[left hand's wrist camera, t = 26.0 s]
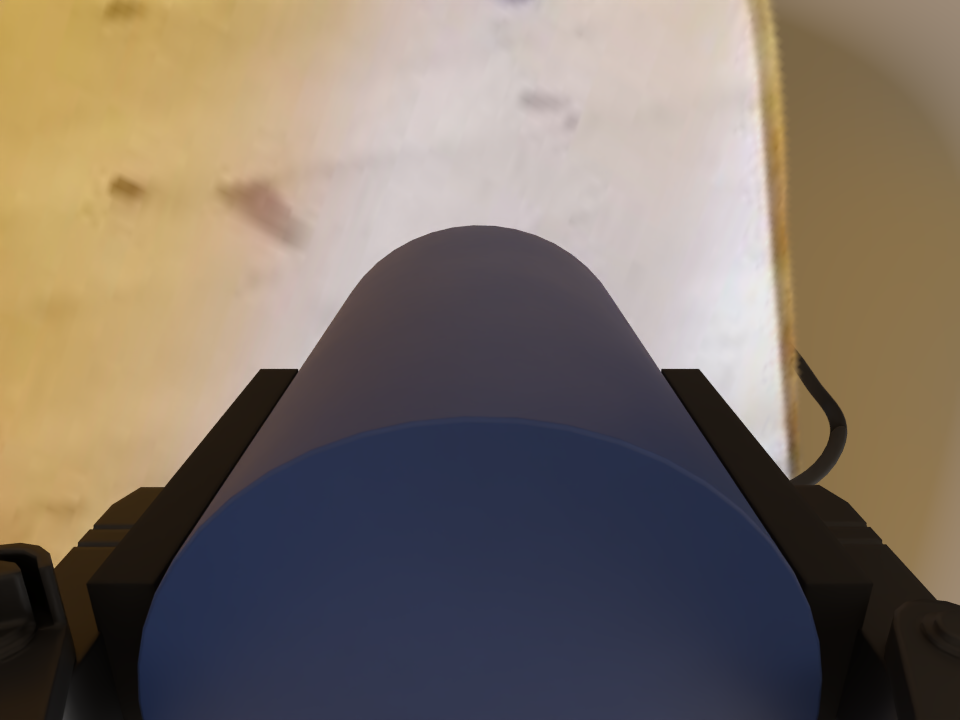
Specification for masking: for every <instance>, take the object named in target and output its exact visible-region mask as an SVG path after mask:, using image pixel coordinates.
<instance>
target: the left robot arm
mask: <svg viewBox="0 0 960 720" xmlns="http://www.w3.org/2000/svg"><path fill="white" fill-rule="evenodd" d="M795 353H796V373H797V375H798V376H799V378H800V379H801V381H802V382H803V384H804V385H805V387H806V388H807V390H808V391H809V393H810V394H811V395H812V396H813V398H814V399H815V400H816V401H817V403H818V404H819V405H820V407H821V408H822V409H823V411H824V412H825V414H826V416H827V418H828V421H829V425H830V436H829V441H828V443H827V446H826V448H825V449H824V451H823V453H822V455H821V456H820V457H819V458H818V459H817V461H816V462H815V463H814V464H813V465H812V466H811V467H809V468H808V469H807V470H806V471H804V472H803V473H802V474H800V475H799V476H797V477H795V478H794V479H792V480H789V479H788V478H787V477H786V476H785V474H784V473H783V472H782V471H781V469H780V468H779V467H778V466H777V464H776V463H775V462H774V461H773V460H772V458H771V457H770V456H769V455H768V453H767V452H766V451H765V450H764V448H763V447H762V446H761V445H760V444H759V442H758V441H757V440H756V439H755V437H754V436H753V435H752V434H751V432H750V431H749V430H748V429H747V428H746V426H745V425H744V424H743V423H742V421H741V420H740V419H739V418H738V416H737V415H736V414H735V413H734V412H733V410H732V409H731V408H730V407H729V405H728V404H727V403H726V402H725V400H724V399H723V398H722V397H721V396H720V394H719V393H718V392H717V391H716V389H715V388H714V387H713V386H712V385H711V383H710V382H709V381H708V380H707V378H706V377H705V376H704V375H703V373H702V372H701V371H700V370H699V369H661V373H662V374H663V376H664V377H665V379H666V380H667V382H668V383H669V385H670V386H671V388H672V389H673V391H674V392H675V394H676V395H677V397H678V398H679V400H680V401H681V403H682V404H683V406H684V407H685V409H686V410H687V412H688V413H689V415H690V416H691V418H692V420H693V421H694V423H695V424H696V426H697V427H698V429H699V430H700V432H701V433H702V435H703V436H704V438H705V439H706V441H707V442H708V444H709V445H710V447H711V448H712V450H713V451H714V453H715V454H716V456H717V457H718V459H719V460H720V462H721V463H722V465H723V466H724V468H725V469H726V471H727V472H728V474H729V475H730V477H731V478H732V480H733V481H734V483H735V484H736V486H737V487H738V489H739V490H740V492H741V493H742V495H743V496H744V498H745V499H746V501H747V502H748V504H749V505H750V507H751V508H752V510H753V511H754V513H755V514H756V516H757V517H758V519H759V520H760V522H761V523H762V525H763V526H764V528H765V529H766V531H767V532H768V534H769V535H770V537H771V538H772V540H773V541H774V543H775V544H776V546H777V547H778V549H779V550H780V552H781V553H782V555H783V556H784V558H785V559H786V561H787V562H788V564H789V565H790V567H791V568H792V570H793V571H794V573H795V575H796V577H797V580H798V582H799V584H800V586H801V588H802V590H803V593H804V595H805V597H806V599H807V601H808V603H809V606H810V608H811V612H812V616H813V620H814V624H815V627H816V631H817V635H818V639H819V644H820V657H821V669H822V688H821V698H820V709H819V715H818V719H817V720H960V605H957V604H954V603H950V602H947V601H939V600H936V599H935V597H934V596H933V595H932V594H931V593H930V592H929V591H928V590H927V589H926V588H925V586H924V585H923V584H922V583H921V582H920V581H919V580H918V579H917V578H916V577H915V576H914V574H913V573H912V572H911V571H910V570H909V569H908V568H907V567H906V566H905V565H904V563H903V562H902V561H901V560H900V559H899V558H898V557H897V556H896V555H895V554H894V553H893V551H892V550H891V549H890V548H889V547H888V546H887V545H886V544H882V539H881V538H880V537H879V536H878V535H877V534H876V533H875V532H874V531H873V530H872V528H871V527H867V525H866V522H865V521H864V520H863V519H862V517H861V516H860V515H859V514H858V513H857V512H856V511H855V510H854V509H853V508H852V507H851V505H850V504H849V503H848V502H846V501H845V500H843V499H841V498H840V497H838V496H836V495H835V494H833V493H831V492H830V491H828V490H827V489H825V488H823V487H822V486H820V485H815V484H816V483H818V482H819V481H820V480H821V479H822V478H823V477H825V476H826V475H827V474H828V473H829V472H830V470H831V469H832V468H833V467H834V465H835V464H836V462H837V461H838V459H839V457H840V455H841V453H842V451H843V449H844V446H845V443H846V438H847V424H846V419H845V417H844V414H843V412H842V410H841V409H840V407H839V406H838V404H837V403H836V401H835V400H834V399H833V398H832V396H831V395H830V394H829V393H828V392H827V391H826V389H825V388H824V387H823V386H822V385H821V383H820V382H819V380H818V379H817V377H816V376H815V374H814V373H813V372H812V370H811V369H810V367H809V366H808V364H807V363H806V361H805V360H804V359H803V357H802V356H801V355H800V354H799V352H798V351H797V350H796V349H795ZM297 373H298V369H260V370H259V372H258V373H257V374H256V375H255V377H254V378H253V379H252V380H251V381H250V383H249V384H248V385H247V386H246V388H245V389H244V390H243V391H242V393H241V394H240V395H239V396H238V397H237V399H236V400H235V401H234V402H233V404H232V405H231V406H230V407H229V409H228V410H227V411H226V412H225V413H224V415H223V416H222V417H221V418H220V420H219V421H218V422H217V423H216V425H215V426H214V427H213V428H212V429H211V431H210V432H209V433H208V434H207V436H206V437H205V438H204V439H203V441H202V442H201V443H200V444H199V445H198V447H197V448H196V449H195V450H194V452H193V453H192V454H191V455H190V456H189V458H188V459H187V460H186V461H185V463H184V464H183V465H182V466H181V468H180V469H179V470H178V471H177V472H176V474H175V475H174V476H173V477H172V479H171V480H170V481H169V482H168V484H167V485H166V486H165V487H140V488H139V489H137V490H136V491H134V492H132V493H131V494H129V495H127V496H126V497H124V498H122V499H121V500H119V501H118V502H116V503H114V504H113V505H112V506H111V507H110V508H109V509H108V510H107V511H106V512H105V513H104V514H103V515H102V517H101V518H100V519H99V520H98V521H97V522H96V523H95V524H94V528H93V529H90V530H89V531H88V532H87V533H86V534H85V535H84V536H83V538H82V539H81V540H80V541H79V542H78V546H77V547H73V549H72V550H71V551H70V552H69V553H68V554H67V555H66V556H65V557H64V558H63V560H62V561H61V562H60V563H59V564H58V565H57V566H56V567H55V568H54V567H53V564H52V560H51V556H50V553H48V552H47V551H46V550H44V549H43V548H42V547H40V546H38V545H31V544H24V543H15V544H5V545H0V720H142V715H141V710H140V705H139V700H138V658H139V651H140V645H141V638H142V631H143V627H144V624H145V621H146V618H147V615H148V612H149V609H150V606H151V603H152V600H153V597H154V594H155V592H156V590H157V588H158V586H159V585H160V583H161V581H162V579H163V577H164V575H165V574H166V572H167V570H168V568H169V566H170V564H171V563H172V561H173V559H174V557H175V556H176V554H177V553H178V551H179V550H180V548H181V547H182V545H183V544H184V542H185V541H186V539H187V538H188V536H189V535H190V533H191V532H192V530H193V529H194V528H195V526H196V525H197V523H198V522H199V520H200V519H201V517H202V516H203V514H204V513H205V511H206V510H207V508H208V507H209V505H210V504H211V502H212V501H213V499H214V498H215V496H216V495H217V493H218V492H219V490H220V489H221V487H222V486H223V484H224V483H225V481H226V480H227V478H228V477H229V475H230V474H231V472H232V471H233V469H234V468H235V466H236V465H237V463H238V462H239V460H240V459H241V457H242V456H243V454H244V453H245V451H246V450H247V448H248V447H249V445H250V444H251V442H252V441H253V439H254V438H255V436H256V435H257V433H258V432H259V430H260V429H261V427H262V426H263V424H264V423H265V421H266V420H267V418H268V417H269V415H270V414H271V412H272V411H273V409H274V408H275V406H276V405H277V403H278V402H279V400H280V399H281V397H282V396H283V394H284V393H285V391H286V390H287V388H288V387H289V385H290V384H291V382H292V381H293V379H294V378H295V376H296V375H297Z"/></svg>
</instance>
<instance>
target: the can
mask: <svg viewBox="0 0 960 720" xmlns="http://www.w3.org/2000/svg"><path fill="white" fill-rule="evenodd" d="M821 688H822V669H821V657H820V644H819V639H818V635H817V631H816V627H815V624H814V620H813V616H812V612H811V608H810V606H809V603H808V601H807V599H806V597H805V595H804V593H803V590H802V588H801V586H800V584H799V582H798V580H797V577H796V575H795V573H794V571H793V570H792V568H791V567H790V565H789V564H788V562H787V561H786V559H785V558H784V556H783V555H782V553H781V552H780V550H779V549H778V547H777V546H776V544H775V543H774V541H773V540H772V538H771V537H770V535H769V534H768V532H767V531H766V529H765V528H764V526H763V525H762V523H761V522H760V520H759V519H758V517H757V516H756V514H755V513H754V511H753V510H752V508H751V507H750V505H749V504H748V502H747V501H746V499H745V498H744V496H743V495H742V493H741V492H740V490H739V489H738V487H737V486H736V484H735V483H734V481H733V480H732V478H731V477H730V475H729V474H728V472H727V471H726V469H725V468H724V466H723V465H722V463H721V462H720V460H719V459H718V457H717V456H716V454H715V453H714V451H713V450H712V448H711V447H710V445H709V444H708V442H707V441H706V439H705V438H704V436H703V435H702V433H701V432H700V430H699V429H698V427H697V426H696V424H695V423H694V421H693V420H692V418H691V416H690V415H689V413H688V412H687V410H686V409H685V407H684V406H683V404H682V403H681V401H680V400H679V398H678V397H677V395H676V394H675V392H674V391H673V389H672V388H671V386H670V385H669V383H668V382H667V380H666V379H665V377H664V376H663V374H662V373H661V371H660V370H659V368H658V367H657V365H656V364H655V362H654V361H653V359H652V358H651V356H650V355H649V353H648V352H647V350H646V349H645V347H644V346H643V344H642V343H641V341H640V340H639V338H638V337H637V335H636V334H635V332H634V331H633V329H632V328H631V326H630V325H629V323H628V322H627V320H626V319H625V317H624V316H623V314H622V313H621V311H620V310H619V308H618V307H617V305H616V304H615V302H614V301H613V299H612V298H611V296H610V295H609V293H608V292H607V290H606V289H605V288H604V286H603V285H602V283H601V282H600V281H599V280H598V279H597V277H596V276H595V275H594V274H593V273H592V272H591V271H590V270H589V269H588V268H587V267H586V266H585V265H584V264H583V263H581V262H580V261H579V260H578V259H577V258H575V257H574V256H573V255H572V254H570V253H569V252H567V251H565V250H564V249H562V248H561V247H559V246H557V245H556V244H554V243H552V242H549V241H547V240H545V239H543V238H541V237H538V236H536V235H533V234H530V233H526V232H523V231H520V230H516V229H511V228H504V227H498V226H476V225H473V226H463V227H454V228H449V229H445V230H441V231H437V232H432V233H430V234H427V235H424V236H422V237H419V238H417V239H414V240H412V241H410V242H408V243H406V244H405V245H403V246H401V247H399V248H397V249H396V250H394V251H392V252H391V253H390V254H388V255H387V256H386V257H384V258H383V259H382V260H380V261H379V262H378V263H377V264H376V265H375V266H374V267H373V268H372V269H371V270H370V271H369V272H368V273H367V274H366V275H365V276H364V277H363V278H362V279H361V281H360V282H359V283H358V284H357V286H356V287H355V288H354V290H353V291H352V292H351V294H350V295H349V297H348V298H347V300H346V301H345V303H344V304H343V306H342V307H341V309H340V310H339V312H338V313H337V315H336V316H335V318H334V319H333V321H332V322H331V324H330V325H329V327H328V328H327V330H326V331H325V333H324V334H323V336H322V337H321V339H320V340H319V342H318V343H317V345H316V346H315V348H314V349H313V351H312V352H311V354H310V355H309V357H308V358H307V360H306V361H305V363H304V364H303V366H302V367H301V369H300V370H299V372H298V373H297V375H296V376H295V378H294V379H293V381H292V382H291V384H290V385H289V387H288V388H287V390H286V391H285V393H284V394H283V396H282V397H281V399H280V400H279V402H278V403H277V405H276V406H275V408H274V409H273V411H272V412H271V414H270V415H269V417H268V418H267V420H266V421H265V423H264V424H263V426H262V427H261V429H260V430H259V432H258V433H257V435H256V436H255V438H254V439H253V441H252V442H251V444H250V445H249V447H248V448H247V450H246V451H245V453H244V454H243V456H242V457H241V459H240V460H239V462H238V463H237V465H236V466H235V468H234V469H233V471H232V472H231V474H230V475H229V477H228V478H227V480H226V481H225V483H224V484H223V486H222V487H221V489H220V490H219V492H218V493H217V495H216V496H215V498H214V499H213V501H212V502H211V504H210V505H209V507H208V508H207V510H206V511H205V513H204V514H203V516H202V517H201V519H200V520H199V522H198V523H197V525H196V526H195V528H194V529H193V530H192V532H191V533H190V535H189V536H188V538H187V539H186V541H185V542H184V544H183V545H182V547H181V548H180V550H179V551H178V553H177V554H176V556H175V557H174V559H173V561H172V563H171V564H170V566H169V568H168V570H167V572H166V574H165V575H164V577H163V579H162V581H161V583H160V585H159V586H158V588H157V590H156V592H155V594H154V597H153V600H152V603H151V606H150V609H149V612H148V615H147V618H146V621H145V624H144V627H143V631H142V638H141V645H140V651H139V658H138V700H139V705H140V710H141V715H142V720H817V719H818V715H819V709H820V698H821Z"/></svg>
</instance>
